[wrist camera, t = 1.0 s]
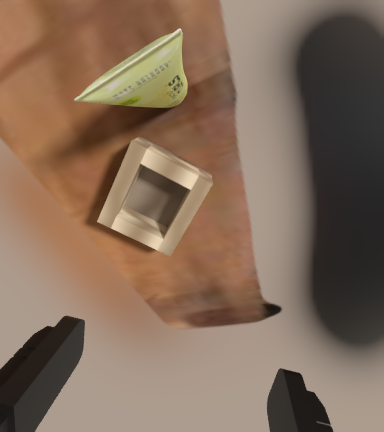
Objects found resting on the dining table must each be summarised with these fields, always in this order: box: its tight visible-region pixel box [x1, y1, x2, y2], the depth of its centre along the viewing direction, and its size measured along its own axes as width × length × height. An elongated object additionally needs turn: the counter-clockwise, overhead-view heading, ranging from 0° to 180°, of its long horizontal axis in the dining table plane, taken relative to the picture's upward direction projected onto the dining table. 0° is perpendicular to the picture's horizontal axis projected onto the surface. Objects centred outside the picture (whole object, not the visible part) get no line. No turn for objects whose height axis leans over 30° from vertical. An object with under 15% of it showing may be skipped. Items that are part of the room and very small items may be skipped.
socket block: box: [97, 136, 213, 256], centre depth 36 cm, size 11×12×5 cm
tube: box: [74, 29, 187, 108], centre depth 24 cm, size 6×5×20 cm
